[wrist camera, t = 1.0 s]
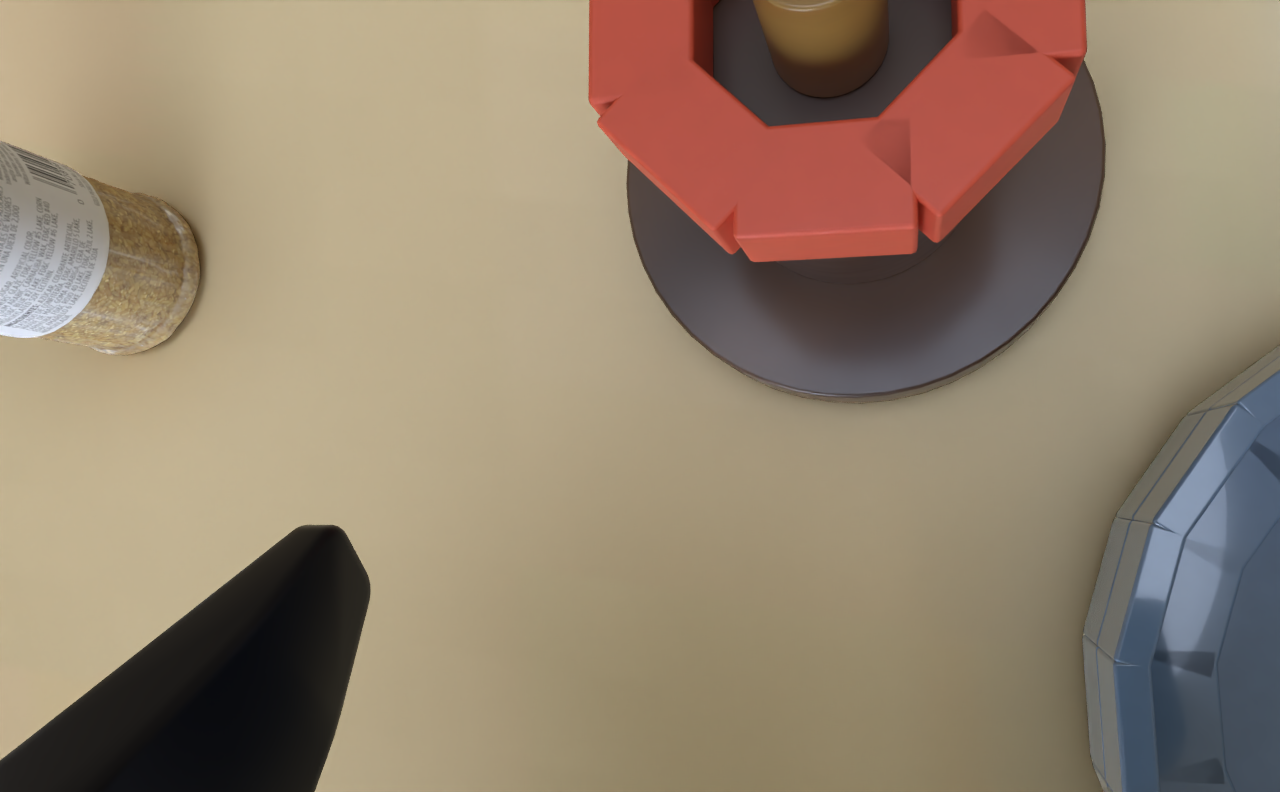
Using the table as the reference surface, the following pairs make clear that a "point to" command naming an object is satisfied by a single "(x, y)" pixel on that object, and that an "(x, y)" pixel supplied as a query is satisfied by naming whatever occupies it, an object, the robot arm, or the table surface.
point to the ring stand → (871, 285)
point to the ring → (832, 128)
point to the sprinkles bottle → (89, 259)
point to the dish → (1194, 607)
